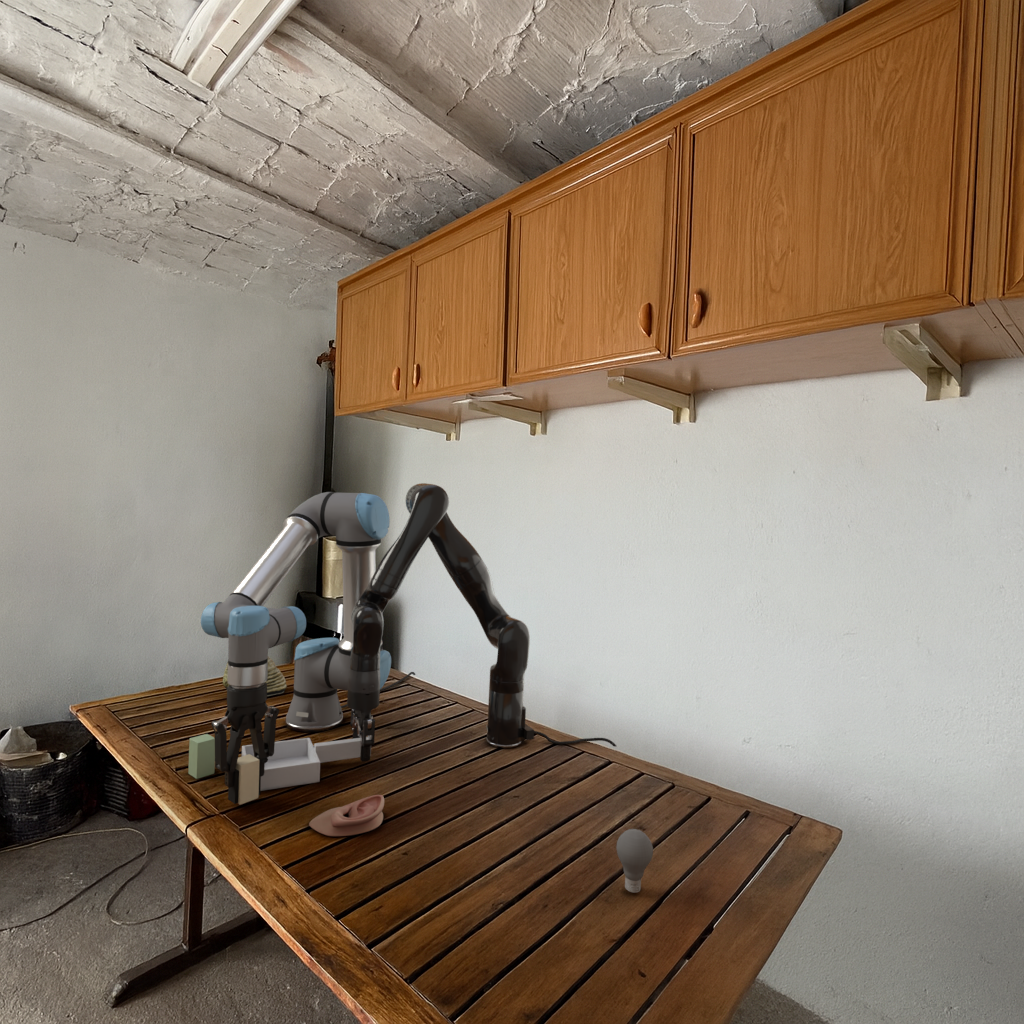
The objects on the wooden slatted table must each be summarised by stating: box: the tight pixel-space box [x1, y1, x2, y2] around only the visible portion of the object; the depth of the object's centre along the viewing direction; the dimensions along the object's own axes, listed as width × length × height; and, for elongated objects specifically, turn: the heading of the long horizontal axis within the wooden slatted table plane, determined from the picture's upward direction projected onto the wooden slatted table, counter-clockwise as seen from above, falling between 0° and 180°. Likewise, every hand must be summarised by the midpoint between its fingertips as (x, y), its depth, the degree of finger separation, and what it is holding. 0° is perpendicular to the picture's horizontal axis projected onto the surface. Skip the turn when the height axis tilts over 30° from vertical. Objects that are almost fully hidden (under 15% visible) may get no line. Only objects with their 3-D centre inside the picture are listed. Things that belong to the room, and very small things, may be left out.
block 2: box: [236, 754, 260, 806], centre depth 129 cm, size 4×4×8 cm
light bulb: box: [615, 828, 654, 894], centre depth 106 cm, size 6×6×10 cm
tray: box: [241, 736, 372, 792], centre depth 147 cm, size 28×15×6 cm, turn 116°
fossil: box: [222, 655, 288, 697], centre depth 198 cm, size 9×18×15 cm, turn 132°
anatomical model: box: [308, 794, 385, 837], centre depth 124 cm, size 13×4×12 cm
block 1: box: [187, 733, 216, 780], centre depth 142 cm, size 4×4×8 cm
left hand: (244, 796), depth 129 cm, fingers closed on block 2, 4 cm apart
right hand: (360, 753), depth 152 cm, fingers open, 8 cm apart
